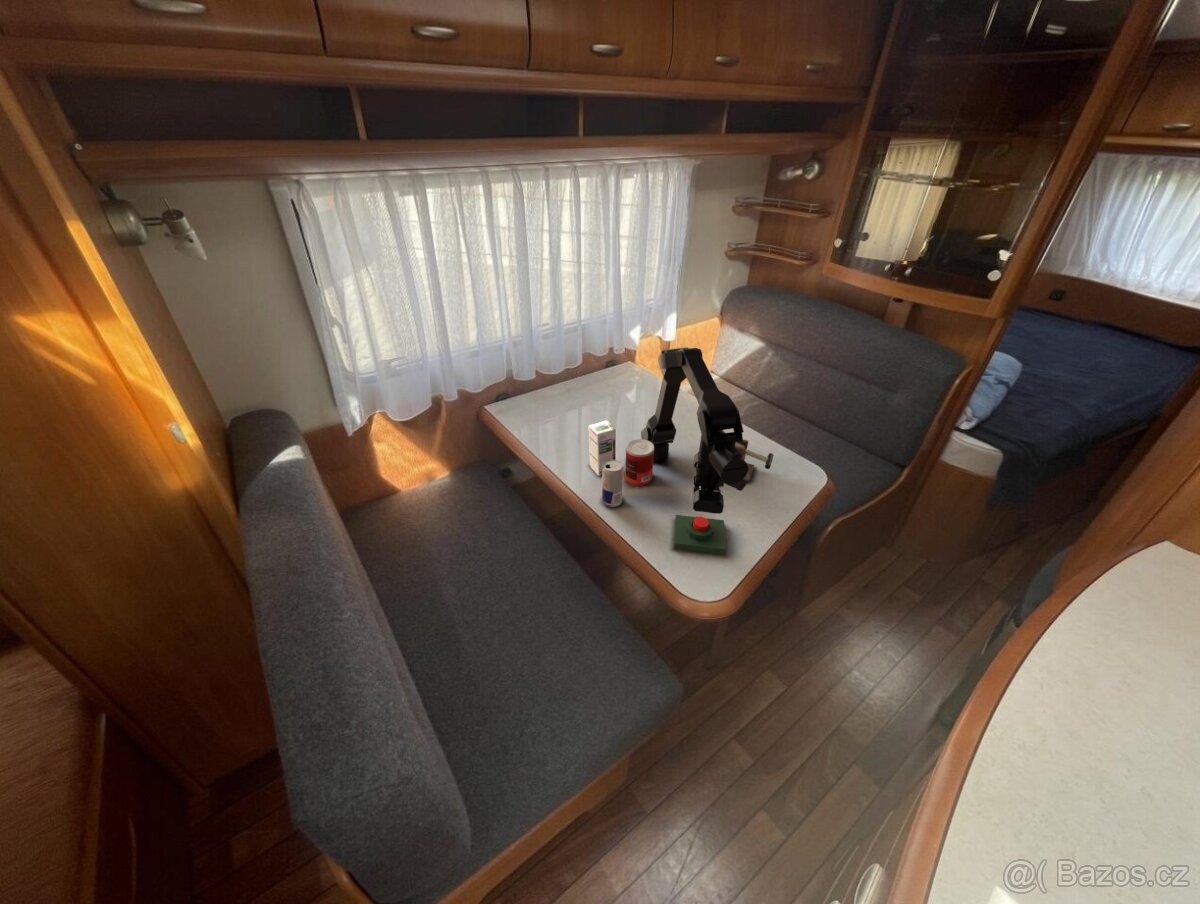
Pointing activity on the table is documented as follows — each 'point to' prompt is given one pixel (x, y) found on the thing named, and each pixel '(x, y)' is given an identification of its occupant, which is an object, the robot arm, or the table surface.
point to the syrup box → (601, 445)
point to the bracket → (742, 451)
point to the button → (700, 524)
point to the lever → (758, 456)
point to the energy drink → (612, 483)
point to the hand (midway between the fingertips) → (703, 509)
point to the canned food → (639, 462)
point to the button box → (699, 536)
